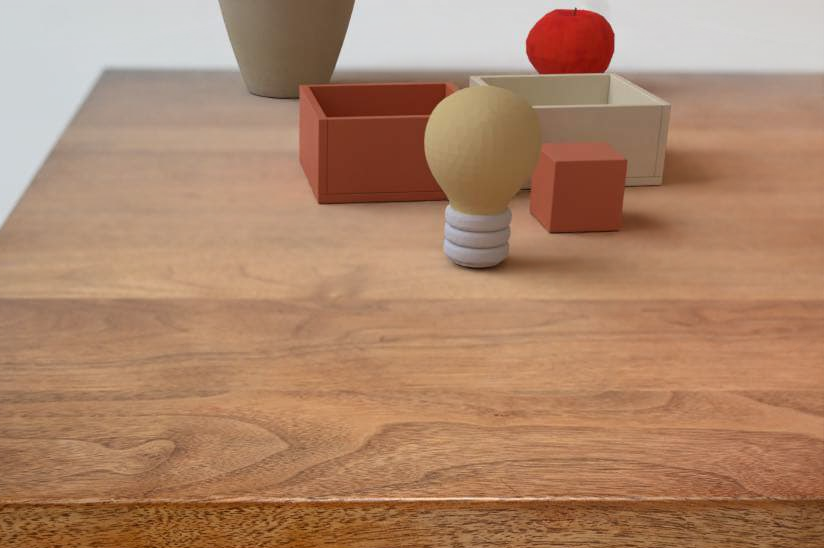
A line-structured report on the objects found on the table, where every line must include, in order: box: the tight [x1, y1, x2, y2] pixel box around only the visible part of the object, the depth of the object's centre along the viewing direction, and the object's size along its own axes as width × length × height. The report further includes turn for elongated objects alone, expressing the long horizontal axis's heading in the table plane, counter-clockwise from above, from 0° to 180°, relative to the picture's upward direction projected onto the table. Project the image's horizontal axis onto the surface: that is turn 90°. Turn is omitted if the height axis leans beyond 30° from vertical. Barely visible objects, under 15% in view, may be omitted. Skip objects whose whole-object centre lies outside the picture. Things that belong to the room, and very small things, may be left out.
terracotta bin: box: [298, 81, 461, 204], centre depth 87 cm, size 11×11×6 cm
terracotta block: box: [528, 142, 628, 234], centre depth 78 cm, size 4×4×4 cm
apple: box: [525, 6, 616, 75], centre depth 115 cm, size 8×8×7 cm
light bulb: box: [424, 86, 542, 269], centre depth 70 cm, size 6×6×10 cm
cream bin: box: [468, 72, 672, 190], centre depth 90 cm, size 11×11×6 cm
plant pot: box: [217, 0, 356, 99], centre depth 113 cm, size 15×15×16 cm
